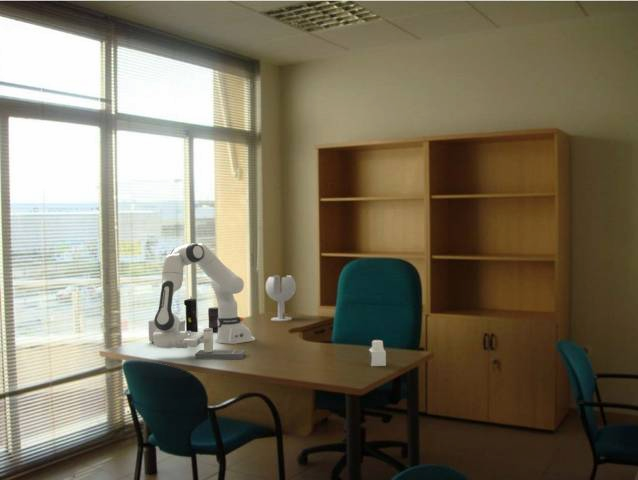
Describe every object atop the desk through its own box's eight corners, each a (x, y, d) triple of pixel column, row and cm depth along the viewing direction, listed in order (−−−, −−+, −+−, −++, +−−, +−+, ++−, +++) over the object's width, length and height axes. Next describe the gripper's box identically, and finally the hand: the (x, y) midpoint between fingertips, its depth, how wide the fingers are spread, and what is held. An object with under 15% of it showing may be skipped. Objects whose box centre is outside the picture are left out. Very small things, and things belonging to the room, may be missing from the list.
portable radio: (193, 338, 407) (192, 296, 405) (184, 338, 408) (183, 296, 407) (198, 335, 414) (197, 294, 413) (189, 335, 415) (188, 294, 414)
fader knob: (203, 352, 351) (203, 329, 351) (206, 350, 357) (205, 328, 356) (211, 352, 351) (210, 329, 351) (213, 350, 356) (212, 328, 356)
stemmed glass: (263, 321, 462) (262, 277, 461) (270, 317, 482) (269, 274, 481) (292, 322, 459) (291, 277, 457) (298, 317, 479) (297, 274, 477)
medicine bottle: (368, 363, 333) (368, 338, 333) (383, 362, 334) (383, 338, 333) (371, 366, 326) (370, 341, 326) (386, 365, 327) (385, 341, 326)
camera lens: (223, 330, 430) (223, 307, 430) (217, 332, 423) (217, 308, 422) (212, 330, 433) (211, 306, 432) (206, 332, 425) (205, 308, 425)
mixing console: (195, 359, 349) (195, 354, 349) (200, 354, 360) (200, 349, 360) (241, 359, 347) (241, 353, 347) (245, 354, 358) (245, 349, 358)
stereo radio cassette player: (148, 343, 394) (147, 308, 393) (156, 340, 401) (155, 306, 400) (179, 345, 386) (178, 310, 385) (187, 342, 394) (186, 308, 393)
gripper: (178, 337, 344) (205, 337, 343) (188, 330, 364) (214, 330, 363) (178, 349, 344) (205, 349, 343) (189, 341, 365) (214, 341, 364)
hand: (210, 339), depth 354 cm, fingers closed on fader knob, 5 cm apart
